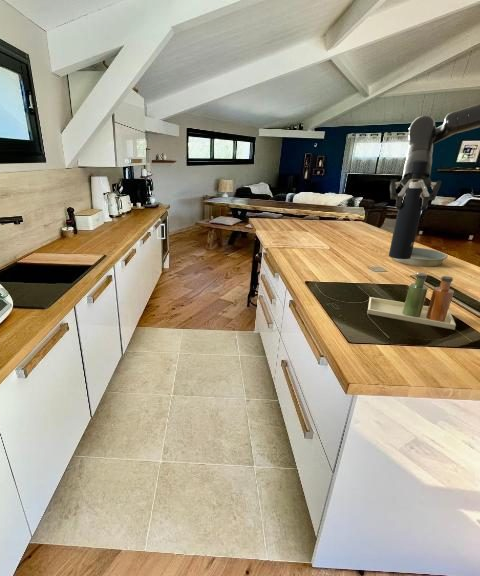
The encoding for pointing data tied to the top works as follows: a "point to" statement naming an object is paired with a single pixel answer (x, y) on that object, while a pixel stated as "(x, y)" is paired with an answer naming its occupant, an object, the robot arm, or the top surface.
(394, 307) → the tray
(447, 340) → the top surface
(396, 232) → the dark grey bottle
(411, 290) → the olive bottle
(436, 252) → the cake pan
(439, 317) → the amber oil bottle
